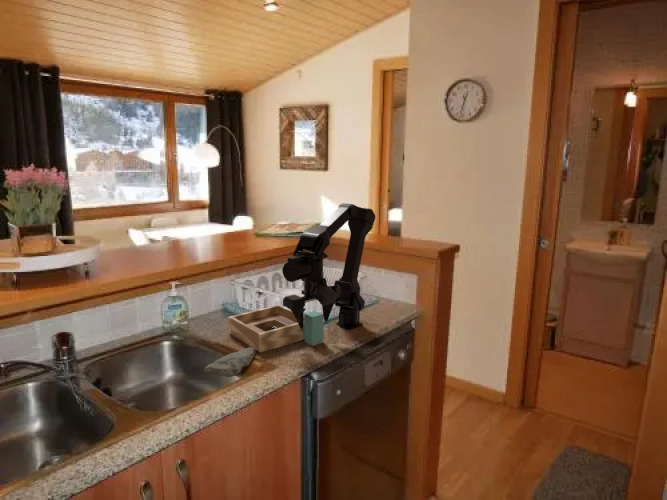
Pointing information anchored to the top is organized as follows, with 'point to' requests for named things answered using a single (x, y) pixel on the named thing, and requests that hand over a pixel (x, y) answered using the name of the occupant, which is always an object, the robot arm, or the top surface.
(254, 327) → the box
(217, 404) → the top surface
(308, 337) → the peg
